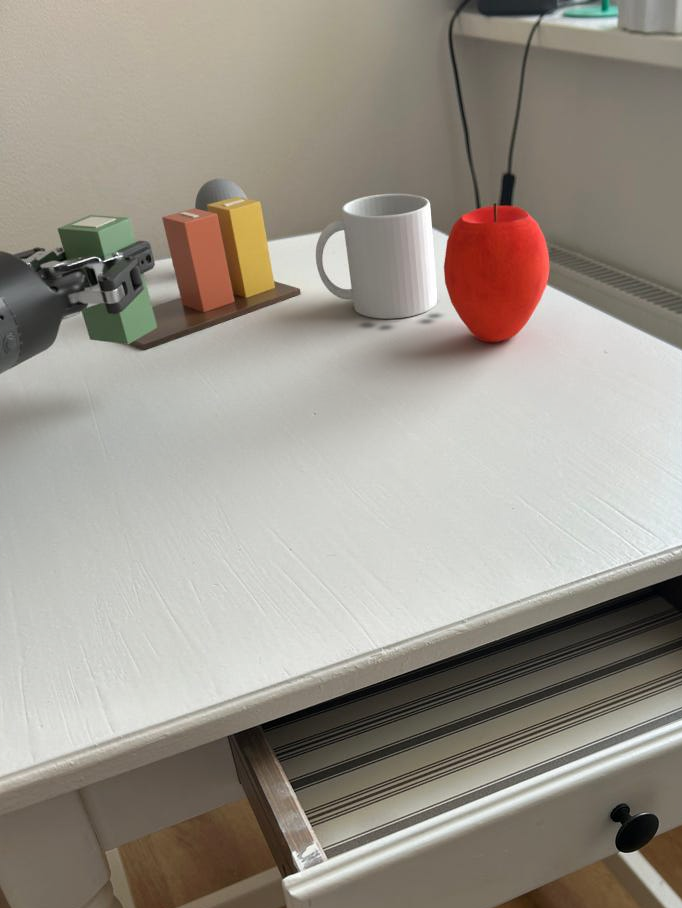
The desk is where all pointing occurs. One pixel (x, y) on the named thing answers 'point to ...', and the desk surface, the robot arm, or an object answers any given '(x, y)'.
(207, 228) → the block
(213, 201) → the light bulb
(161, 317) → the dark brown rectangular board
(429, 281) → the mug
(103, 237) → the green rectangular block
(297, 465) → the desk surface
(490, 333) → the apple
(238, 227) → the yellow slotted money box
